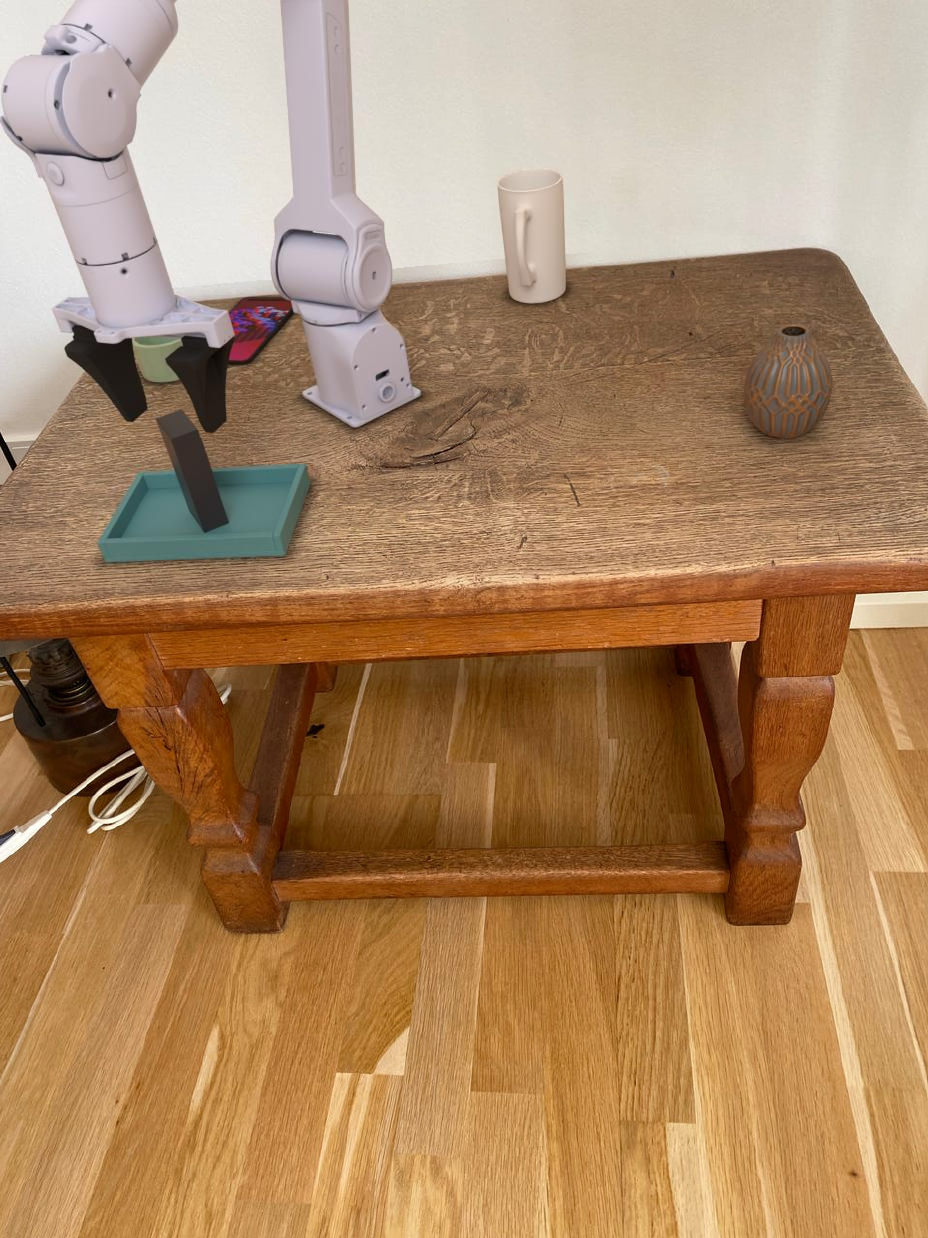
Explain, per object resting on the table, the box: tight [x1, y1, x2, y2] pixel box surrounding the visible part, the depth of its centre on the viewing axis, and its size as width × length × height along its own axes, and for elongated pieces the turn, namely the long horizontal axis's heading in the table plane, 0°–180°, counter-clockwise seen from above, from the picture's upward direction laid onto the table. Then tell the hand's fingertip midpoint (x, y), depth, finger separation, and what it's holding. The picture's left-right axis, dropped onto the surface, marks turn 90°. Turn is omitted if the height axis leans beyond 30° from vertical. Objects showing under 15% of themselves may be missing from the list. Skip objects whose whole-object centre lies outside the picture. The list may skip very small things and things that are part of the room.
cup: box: [132, 336, 183, 383], centre depth 106 cm, size 7×7×4 cm
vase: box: [743, 323, 833, 439], centre depth 83 cm, size 7×7×9 cm
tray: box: [96, 462, 312, 563], centre depth 84 cm, size 15×10×2 cm
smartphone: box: [228, 296, 295, 366], centre depth 112 cm, size 8×1×15 cm
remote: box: [155, 409, 229, 533], centre depth 81 cm, size 2×4×9 cm, turn 30°
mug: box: [496, 167, 567, 304], centre depth 106 cm, size 10×7×12 cm, turn 165°
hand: (176, 420), depth 79 cm, fingers open, 7 cm apart
